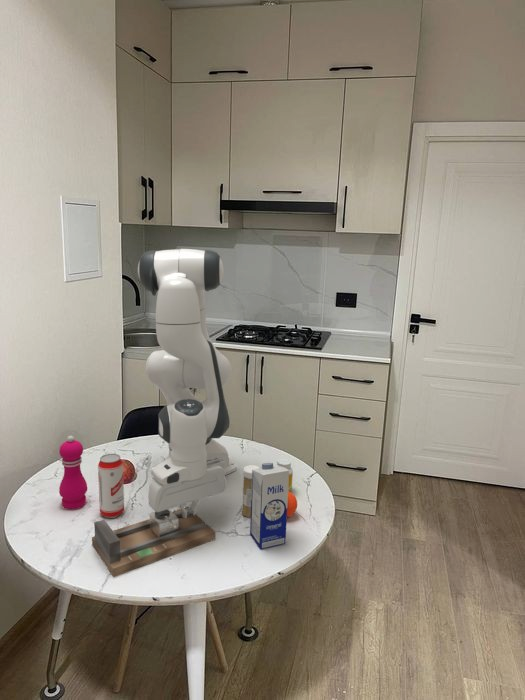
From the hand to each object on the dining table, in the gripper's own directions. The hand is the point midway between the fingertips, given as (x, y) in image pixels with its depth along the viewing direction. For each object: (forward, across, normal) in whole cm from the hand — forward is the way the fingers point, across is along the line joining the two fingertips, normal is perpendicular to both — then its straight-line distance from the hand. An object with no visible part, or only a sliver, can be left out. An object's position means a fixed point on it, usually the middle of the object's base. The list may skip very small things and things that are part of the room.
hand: (188, 515), depth 133 cm
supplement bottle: (+4, -33, -3) cm, 33 cm away
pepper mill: (+4, +20, -28) cm, 35 cm away
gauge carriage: (+2, +7, +2) cm, 7 cm away
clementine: (+4, -25, +8) cm, 26 cm away
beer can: (+4, +13, -18) cm, 23 cm away
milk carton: (+4, -15, +14) cm, 21 cm away
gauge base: (+4, +9, 0) cm, 10 cm away
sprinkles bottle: (+4, -18, +2) cm, 18 cm away
